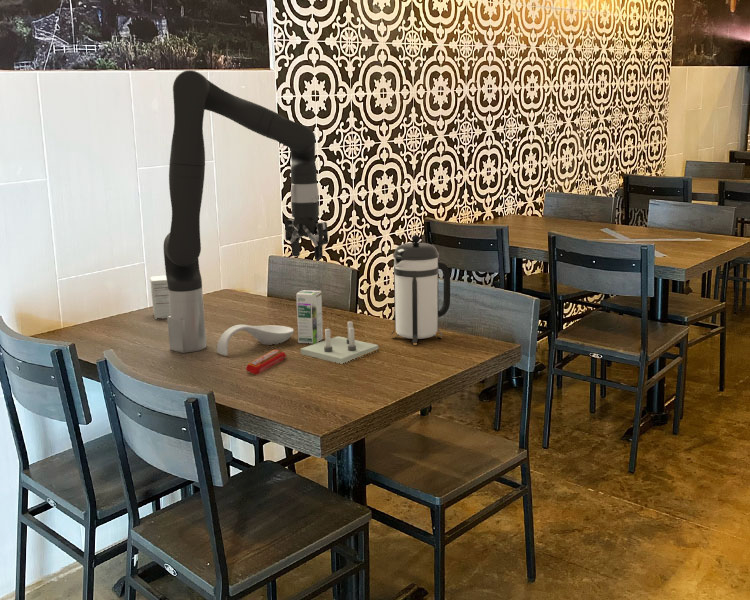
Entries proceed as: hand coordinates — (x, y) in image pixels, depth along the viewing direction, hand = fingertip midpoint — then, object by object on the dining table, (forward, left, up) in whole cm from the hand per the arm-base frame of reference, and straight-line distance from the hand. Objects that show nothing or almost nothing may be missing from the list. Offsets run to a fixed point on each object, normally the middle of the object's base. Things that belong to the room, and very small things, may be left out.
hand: (307, 257), depth 231 cm
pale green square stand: (-3, -14, -24) cm, 28 cm away
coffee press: (+21, -23, -24) cm, 40 cm away
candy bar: (-23, -7, -25) cm, 35 cm away
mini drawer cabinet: (-7, +59, -24) cm, 64 cm away
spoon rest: (-13, +9, -25) cm, 29 cm away
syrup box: (0, 0, -24) cm, 24 cm away
